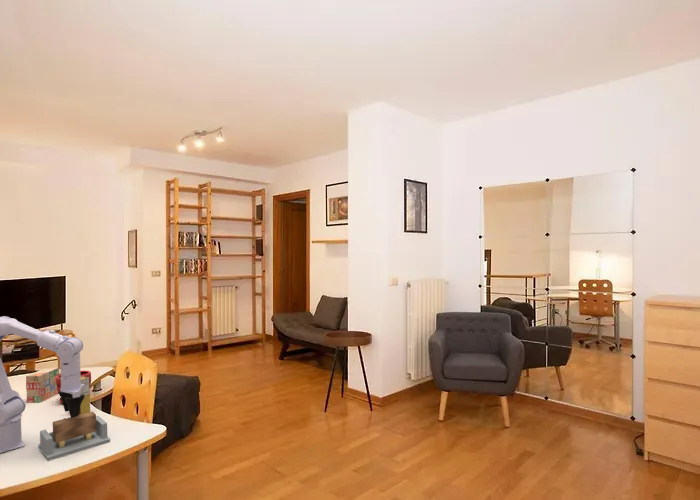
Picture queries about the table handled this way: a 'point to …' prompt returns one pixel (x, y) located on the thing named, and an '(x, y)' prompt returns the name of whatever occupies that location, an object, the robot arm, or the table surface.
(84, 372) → the plant pot
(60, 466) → the table surface
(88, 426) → the board
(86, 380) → the candy box
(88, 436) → the peg stand
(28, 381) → the stack of blocks
